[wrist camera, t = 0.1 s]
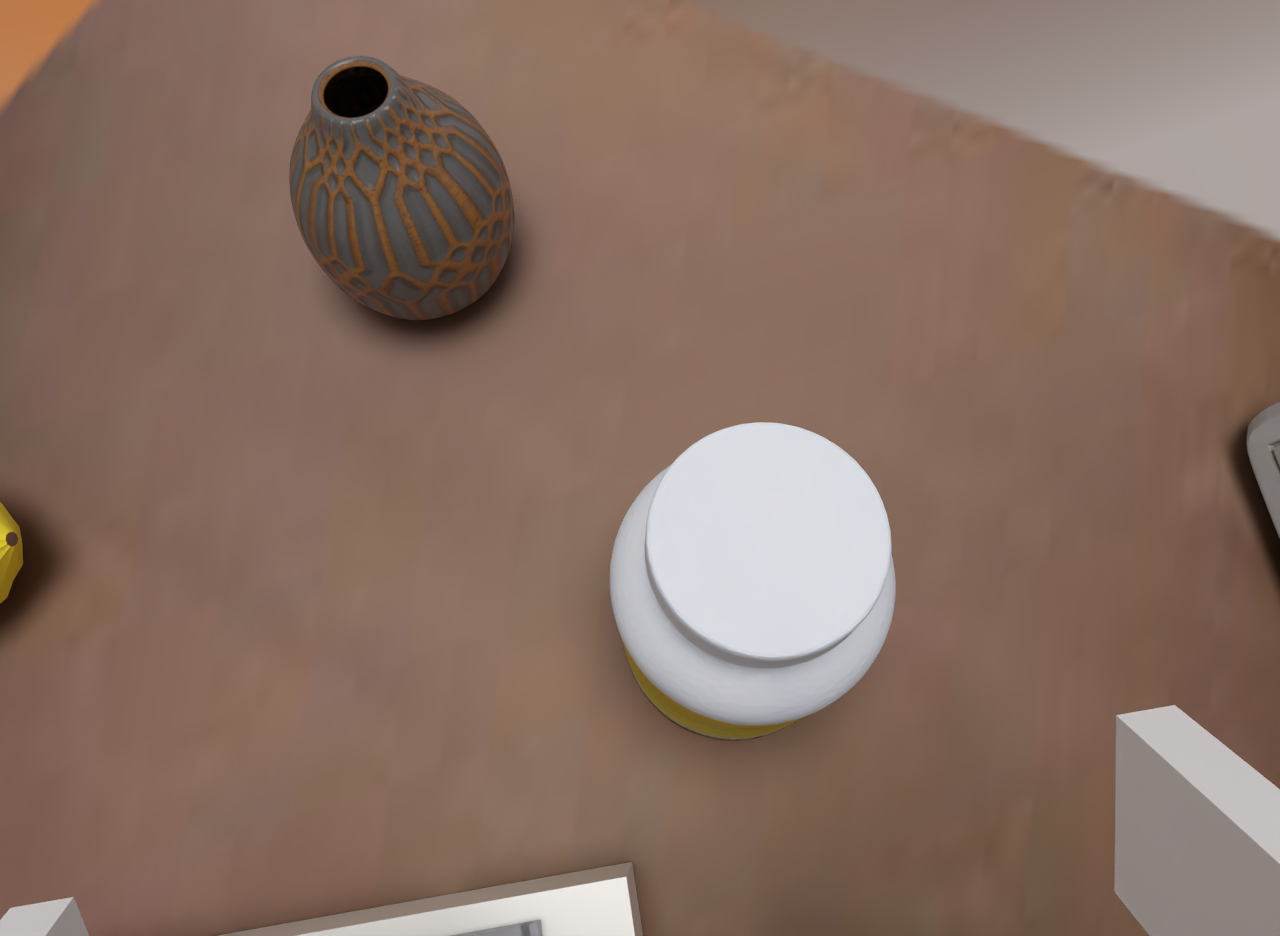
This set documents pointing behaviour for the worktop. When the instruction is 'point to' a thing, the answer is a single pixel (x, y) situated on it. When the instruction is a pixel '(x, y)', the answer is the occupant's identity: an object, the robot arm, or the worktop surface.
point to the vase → (399, 192)
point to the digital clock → (1267, 457)
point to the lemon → (9, 552)
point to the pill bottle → (753, 580)
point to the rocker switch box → (496, 911)
